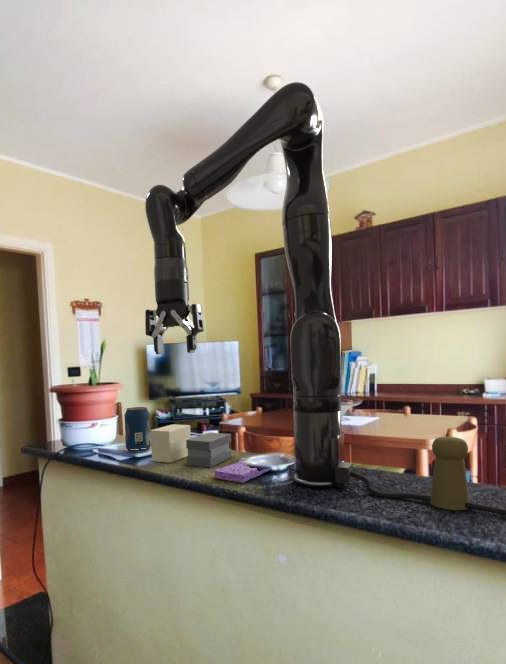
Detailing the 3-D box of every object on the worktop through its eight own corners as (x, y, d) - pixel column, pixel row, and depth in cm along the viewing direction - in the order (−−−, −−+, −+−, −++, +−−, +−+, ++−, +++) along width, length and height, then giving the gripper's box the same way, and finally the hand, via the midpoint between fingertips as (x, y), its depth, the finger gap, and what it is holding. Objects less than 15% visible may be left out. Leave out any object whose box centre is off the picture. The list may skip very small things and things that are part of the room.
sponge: (214, 478, 89) (214, 470, 89) (246, 465, 100) (246, 457, 99) (242, 483, 85) (242, 474, 85) (273, 469, 95) (272, 461, 95)
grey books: (232, 457, 109) (231, 433, 108) (211, 467, 99) (210, 441, 98) (208, 455, 112) (207, 432, 112) (185, 465, 102) (184, 440, 102)
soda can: (125, 449, 123) (124, 407, 122) (150, 447, 124) (148, 406, 124) (126, 454, 116) (124, 410, 115) (152, 452, 118) (150, 408, 117)
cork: (455, 512, 66) (455, 442, 66) (421, 501, 72) (421, 436, 71) (479, 505, 69) (479, 438, 68) (444, 495, 74) (444, 432, 74)
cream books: (191, 454, 113) (191, 434, 113) (170, 463, 104) (169, 441, 104) (173, 452, 116) (172, 433, 116) (150, 461, 107) (149, 440, 107)
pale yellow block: (190, 434, 113) (190, 425, 113) (169, 441, 104) (169, 431, 104) (172, 433, 116) (172, 424, 116) (150, 440, 107) (150, 430, 107)
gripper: (135, 282, 96) (139, 355, 97) (189, 274, 89) (193, 352, 90) (155, 287, 102) (159, 355, 103) (207, 279, 96) (210, 352, 97)
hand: (175, 353), depth 97 cm, fingers open, 8 cm apart
